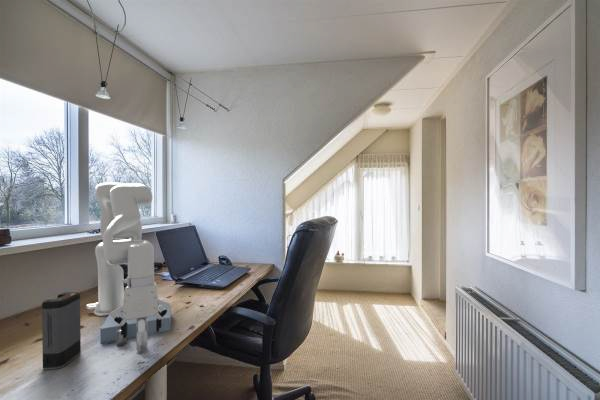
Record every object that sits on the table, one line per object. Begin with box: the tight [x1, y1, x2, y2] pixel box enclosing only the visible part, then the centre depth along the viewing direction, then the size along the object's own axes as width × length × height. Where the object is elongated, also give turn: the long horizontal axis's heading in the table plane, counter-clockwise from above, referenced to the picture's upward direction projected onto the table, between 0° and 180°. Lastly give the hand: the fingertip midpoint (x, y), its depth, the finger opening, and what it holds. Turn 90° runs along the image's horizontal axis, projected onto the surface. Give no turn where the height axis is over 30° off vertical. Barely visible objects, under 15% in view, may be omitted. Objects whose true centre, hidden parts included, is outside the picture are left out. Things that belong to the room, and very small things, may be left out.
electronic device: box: [41, 291, 82, 370], centre depth 86 cm, size 9×6×20 cm, turn 5°
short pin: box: [115, 328, 128, 348], centre depth 95 cm, size 3×3×5 cm
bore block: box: [99, 304, 172, 344], centre depth 107 cm, size 22×14×5 cm, turn 114°
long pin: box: [135, 317, 149, 355], centre depth 91 cm, size 3×3×13 cm
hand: (141, 333), depth 91 cm, fingers open, 9 cm apart
